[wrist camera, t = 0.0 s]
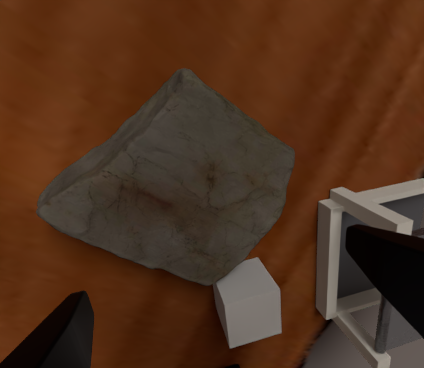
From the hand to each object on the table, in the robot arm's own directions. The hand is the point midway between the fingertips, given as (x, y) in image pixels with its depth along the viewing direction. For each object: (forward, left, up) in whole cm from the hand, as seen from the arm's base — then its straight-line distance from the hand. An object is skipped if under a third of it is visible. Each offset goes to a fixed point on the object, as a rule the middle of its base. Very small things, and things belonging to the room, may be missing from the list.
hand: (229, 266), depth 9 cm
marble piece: (-1, 0, -15) cm, 15 cm away
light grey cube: (-14, -4, -15) cm, 21 cm away
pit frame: (-13, -20, -15) cm, 28 cm away
